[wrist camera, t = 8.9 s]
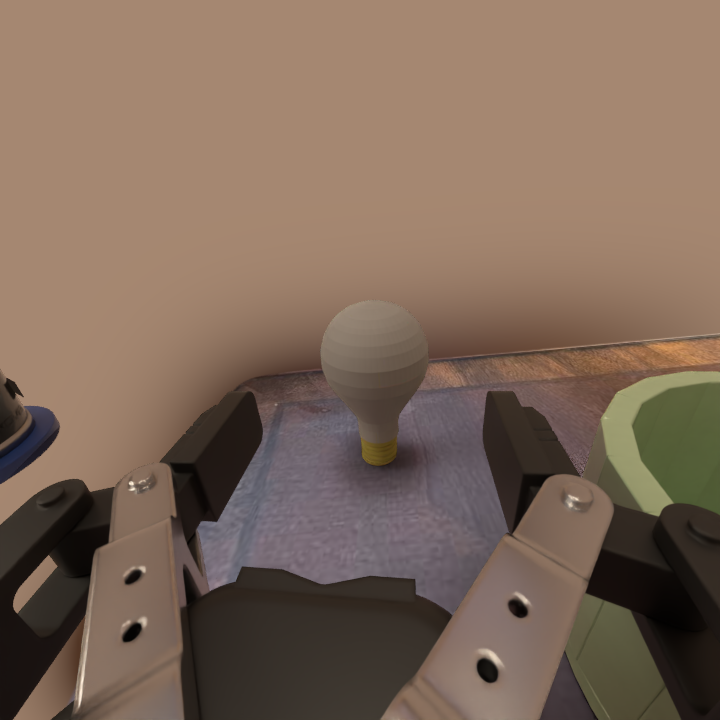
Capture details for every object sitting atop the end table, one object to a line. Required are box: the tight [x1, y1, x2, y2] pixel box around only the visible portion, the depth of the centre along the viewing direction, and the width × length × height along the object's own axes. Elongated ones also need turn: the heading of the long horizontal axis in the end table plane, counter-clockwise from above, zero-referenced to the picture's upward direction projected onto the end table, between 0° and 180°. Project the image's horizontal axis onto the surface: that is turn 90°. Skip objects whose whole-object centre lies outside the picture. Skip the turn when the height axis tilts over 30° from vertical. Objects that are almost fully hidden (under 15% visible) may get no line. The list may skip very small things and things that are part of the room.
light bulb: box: [320, 300, 429, 466], centre depth 19 cm, size 6×6×10 cm
